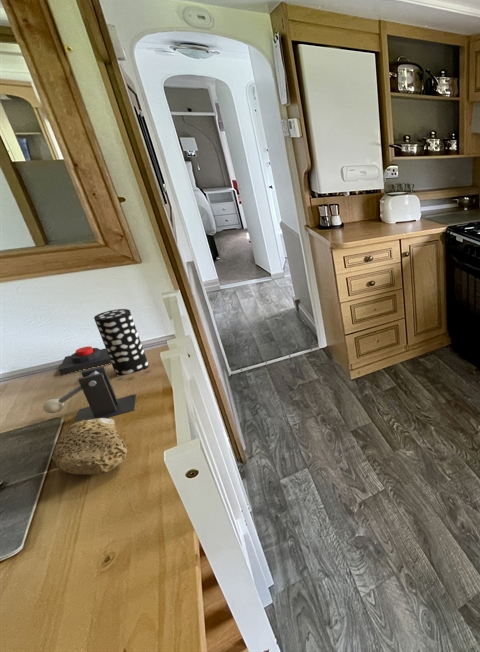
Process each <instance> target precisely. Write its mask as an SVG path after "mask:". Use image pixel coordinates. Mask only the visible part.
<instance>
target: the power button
mask: <svg viewBox="0 0 480 652" xmlns="http://www.w3.org/2000/svg"><path fill="white" fill-rule="evenodd" d="M92 348H93V346H89V345H88V346H82V347H79V348H78V349H76V350H75V351H74V353H75V352H76V354H77V356H85V355H89V354H91V353H93V352H94V351H93V349H92Z"/></svg>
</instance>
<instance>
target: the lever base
mask: <svg viewBox="0 0 480 652" xmlns="http://www.w3.org/2000/svg"><path fill="white" fill-rule="evenodd" d="M94 371H97V372H99V374H95V375H91V376H88V375H90V374H91V373H93V372H94ZM80 374H81V376H82V377H79V378H78V382H79V385H81V387H82V392H83V394H84V396H85V398H86V401H87V403H88V405H89V406H85V407H82V408H79V409H78V411H77V415H76V418H75V421H74V423H76V422H80V421H82V420H90V419H98V418H107V419H110V418H113V417H117V416H121V415H123V414H128V413H131V412H134V411H135V410H136V409H135V408H136V401H137V394H136V393H134V394H130V395H126V396H124V397H119V398H117V396H116V392H115V390H114V388H113V386H112V385H113V384H112V383H111V380H110V378H109V375H108V372H107V370H106V368H105V366H101V367H96V368H92V369H87V370H83V371H80Z"/></svg>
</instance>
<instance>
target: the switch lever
mask: <svg viewBox="0 0 480 652" xmlns="http://www.w3.org/2000/svg"><path fill="white" fill-rule="evenodd" d="M95 374H99V372H97V371H94V372H93V373H91V374H90V375H88V376H91V375H95ZM81 391H83V389H82V387H81V385H80V384H79V385H78V386H76V387H75V388H73V389H72V390H70V391H69V392H67V393H66V394H64V395H63V396H61V397H60V398H51V399H48V400H47V401H45V402H44V403H43V406H42V409H43V411H44V412H46V413H48V414H56V413H59V412H61V411H62V410H63V408H64V406H65V402H67V401H68V400H69V399H70V398H72V397H74V396H76V394H78V393H79V392H81Z"/></svg>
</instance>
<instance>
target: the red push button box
mask: <svg viewBox="0 0 480 652" xmlns="http://www.w3.org/2000/svg"><path fill="white" fill-rule="evenodd" d="M92 349H93V351H94V352H93V353H91V354H89V355H85V356H77V354H76V352H75V351H74V353H72V354H71V355H67V356H65V357H64V358H63V360H62V362H61V365H60V367H59V368H58V371H59V373H60V375H61V376H64V375H63V374H65V375H69V374H71V373H70V372H74V373H76V372H75V371H78V372H79V373H80V371H79V370H82V371H84V370H83V369H87V370H89V369H88V368H91V369H93V368H92V367H96V368H98V367H97V366H100V367H102V366H101V365H104V367H105V366H106V365H105V364H109V363H111V361H110V358H109V355H108V353H107V350H106V348H105V347H104V348H98V347H92ZM109 365H110V364H109ZM82 371H81V372H82ZM78 372H77V373H78ZM67 373H69V374H67Z"/></svg>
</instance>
